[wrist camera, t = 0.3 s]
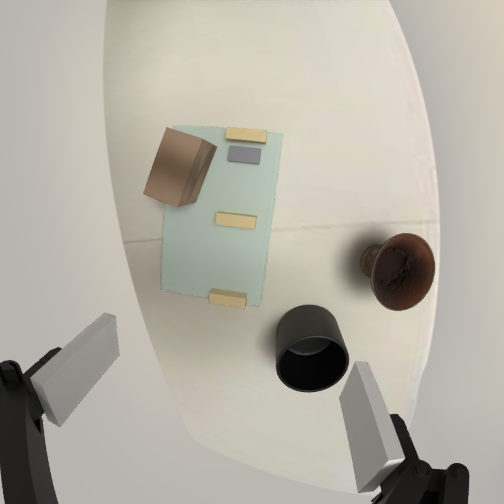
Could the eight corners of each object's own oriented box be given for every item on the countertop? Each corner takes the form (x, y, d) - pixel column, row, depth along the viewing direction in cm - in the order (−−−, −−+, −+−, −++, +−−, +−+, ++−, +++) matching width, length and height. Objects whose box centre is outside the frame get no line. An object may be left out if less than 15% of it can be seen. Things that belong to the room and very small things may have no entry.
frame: (186, 136, 35) (165, 127, 28) (217, 146, 35) (202, 138, 28) (166, 190, 37) (142, 193, 30) (196, 202, 37) (177, 207, 30)
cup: (408, 222, 36) (443, 236, 26) (401, 281, 38) (431, 309, 28) (352, 221, 37) (376, 234, 27) (348, 282, 39) (367, 313, 29)
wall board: (175, 126, 36) (167, 123, 33) (282, 134, 35) (283, 130, 32) (163, 287, 42) (156, 294, 39) (260, 303, 41) (258, 312, 38)
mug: (276, 368, 44) (275, 406, 35) (276, 304, 41) (275, 336, 32) (332, 367, 43) (341, 403, 34) (340, 303, 40) (354, 333, 31)
